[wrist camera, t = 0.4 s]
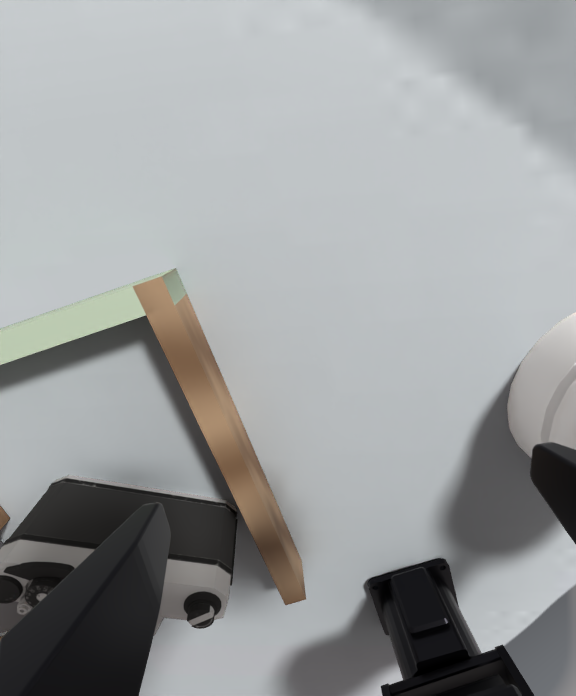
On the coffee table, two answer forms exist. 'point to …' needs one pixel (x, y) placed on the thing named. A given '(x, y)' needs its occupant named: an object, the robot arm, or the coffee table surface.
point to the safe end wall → (79, 319)
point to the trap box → (221, 432)
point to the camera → (100, 522)
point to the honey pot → (546, 391)
